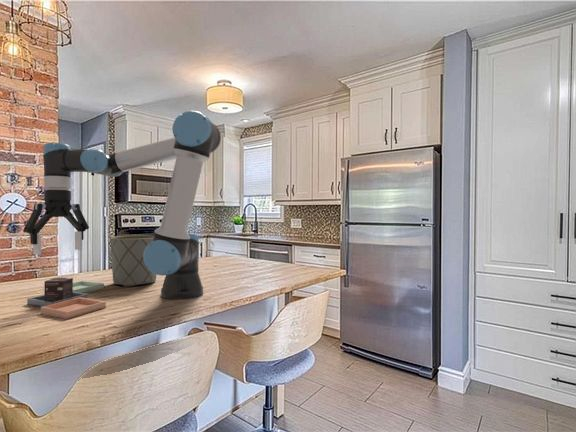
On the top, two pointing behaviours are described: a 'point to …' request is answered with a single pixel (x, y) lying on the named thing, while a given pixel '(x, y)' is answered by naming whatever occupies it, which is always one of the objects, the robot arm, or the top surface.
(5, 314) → the top surface
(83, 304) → the tray
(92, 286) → the tray
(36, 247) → the robot arm
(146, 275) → the planter
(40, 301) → the tray
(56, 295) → the box
